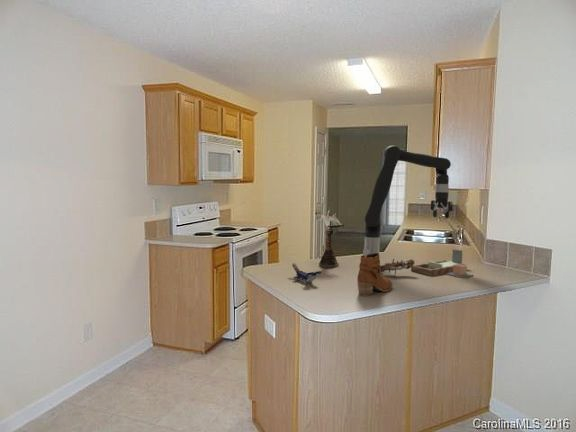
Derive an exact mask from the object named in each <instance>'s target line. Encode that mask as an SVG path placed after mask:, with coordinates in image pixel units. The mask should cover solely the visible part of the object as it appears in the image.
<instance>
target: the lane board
mask: <svg viewBox="0 0 576 432" xmlns="http://www.w3.org/2000/svg"><path fill="white" fill-rule="evenodd" d="M434 262H435V263H443V262H448V261H447V260H438V261H434ZM428 264H429V262H425V263H419V264H418V263H417V264H414V265H413V266H411V268H410V272H414V273H417V274H422V275H426V276H430V277H432V276H438V275H444V274H447V273H451V272H453V266H448V267H442V268H436V269H434V268H430V267H428ZM464 264H465V263H464ZM464 264H461V265H464Z"/></svg>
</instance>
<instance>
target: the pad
mask: <svg viewBox="0 0 576 432" xmlns="http://www.w3.org/2000/svg"><path fill="white" fill-rule="evenodd" d="M446 275H448V276H452V277H456V278H459V279H463V278H470V277H474V274H471V273H467V272H466V275H457V274H453V272H450V273H446Z"/></svg>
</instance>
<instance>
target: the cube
mask: <svg viewBox="0 0 576 432" xmlns="http://www.w3.org/2000/svg"><path fill="white" fill-rule="evenodd" d="M467 267H468V266H467V265H466V264H465V265H461V264H456V265H453V274H457V275H466V273H467V270H468V268H467Z"/></svg>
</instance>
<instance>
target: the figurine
mask: <svg viewBox="0 0 576 432" xmlns="http://www.w3.org/2000/svg"><path fill="white" fill-rule="evenodd" d="M394 261H395V259H394V258H393V259H392V261H391V262H385V263H384V264H383V265H380V272H381V274H382V273H383V272H385V271H388V274H390V272H391V271H394V274H393V275H394V277H396V274H397V271H401V270H404V269H405V270H409V269H411V266H413V265H415V260H414V259H412V258H411V259H409V260H406V261H404V260H397V261H395V262H394Z"/></svg>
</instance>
